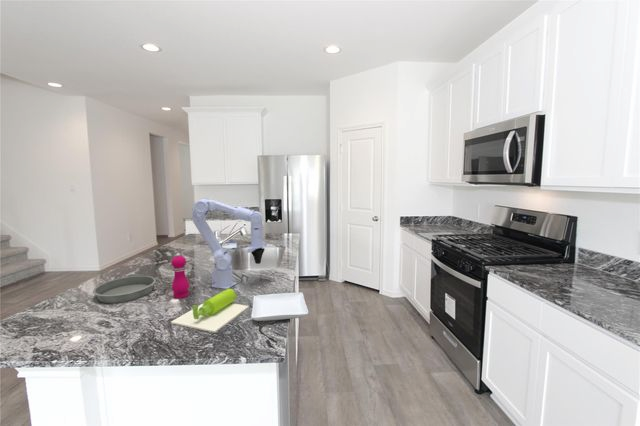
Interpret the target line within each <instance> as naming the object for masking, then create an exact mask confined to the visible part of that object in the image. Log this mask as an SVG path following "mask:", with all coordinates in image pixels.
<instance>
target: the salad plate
mask: <svg viewBox="0 0 640 426" xmlns="http://www.w3.org/2000/svg"><path fill="white" fill-rule="evenodd" d="M308 314H309V310H308V306H307V304H306V301H305V296H304V293H303V292H301V291H300V292H298V291H297V292H284V293H283V292H282V293H270V294H269V293H268V294H257V295H254V296H253V299H252V310H251V316H250V318H251V319H252V320H253V321H256V322H257V321H258V322H267V321H268V322H270V321H282V320H291V319H301V318H305V317H306V316H308Z"/></svg>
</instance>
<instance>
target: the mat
mask: <svg viewBox="0 0 640 426" xmlns="http://www.w3.org/2000/svg"><path fill="white" fill-rule="evenodd" d="M202 306H203V303H201V304H199V305H198V311H199V308H201V307H202ZM249 308H250V305H245V304H240V303H239V304H238V303H233V302H232V303H230V304H228V305H227V306H225V307H224V308H222V309H220V310H219V311H217V312H216V313H214V314H213V315H208V314H206V315H205V316H201V315H200V316H199V319H194V316H193V308H192V309H191V310H189V311H187V312H186V313H184V314H182V315H180V316H179V317H176V318H175V319H173V320H171V321H170V324H172V325H177V326H181V327H186V328H191V329H195V330H199V331H205V332H209V333H214V334H215V333H217V332H218V331H219V330H221V329H222V328H223V327H225V326H227V325H228V324H229V323H230V322H232V321H233V320H235V319H236V318H237V317H239V316H240V315H241V314H243V313H244V312H246V310H248V309H249Z"/></svg>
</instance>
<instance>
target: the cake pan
mask: <svg viewBox="0 0 640 426" xmlns="http://www.w3.org/2000/svg"><path fill="white" fill-rule="evenodd" d="M155 283H156V278H155V277H153V276H150V275H131V276H125V277H120V278H114V279H111V280H108V281H106V282H105V281H104V282H103V283H101V284H99V285H97V286H96V287H94V288H93V289H92V293H93V294H94V295H95V296H97V298H98V300H99V302H102V303H105V304H106V303H107V304H116V303H123V302H129V301H134V300H136V299H139V298H142V297H144V296H146V295H148V294H150V293H151V292H152V291H153V289H154V284H155Z"/></svg>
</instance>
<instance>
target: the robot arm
mask: <svg viewBox="0 0 640 426" xmlns="http://www.w3.org/2000/svg"><path fill="white" fill-rule="evenodd" d="M215 210H218V211H221V212H225V213H229V214H232V215H233V216H234V218H236V219H239V220H240V221H241V220H242V221H245V222H250V243H251V244H250V246H249V247H247V249H246V250H247V251H246V252H247V253H249V254H251V255H252V256H253V261H254V262H255V264H256V265H257V264H258V265H259V264H261V261H262V257H263V254H264V252H265V247H267V246H268V244H267V241H264V233H263V232H264V231H263V230H264V229H263V215H262V213H261V212H260V211H258V210H254V209H248V208H246V207H245V206H243V205H242V206H237V207H235V206H233V205H230V204H229V205H228V204H226V203H223V202H220V201H219V200H214V199H209V198H206V197H204V198H201V199H198V200H196V201H195V202H194V204H193V206H192V222H193V224H194V225H195V228H196V229H197V230H198V232H199V233H200V235H201V236H202V239H203V240H204V241H205V243H206V245H207V246H208V248H209V250H210V251H211V253H212V255H213V259H214V261H215V266H216V267H214V268H213V269H212V271H211V282H212V284H211V285H210V286H211V288H218V289H222V290H226V289H228V288H230V289H231V287H234V286H235V285H237V284H238V283H237V282H234V278H233V275H234V274H233V265H232V263H231V262H232V261H233V257H232V254H230V253H229V252H228V251H227V250H226V249H225V248H224V247H223V246H222V245H221V243H220V241H219V239H218V238H217V237H216V235H215V233H214V232H213V230H212V229H211V227H210V226H209V223H208V222H207V220H206V218H207V216H208V213H209V212H212V211H215Z"/></svg>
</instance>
